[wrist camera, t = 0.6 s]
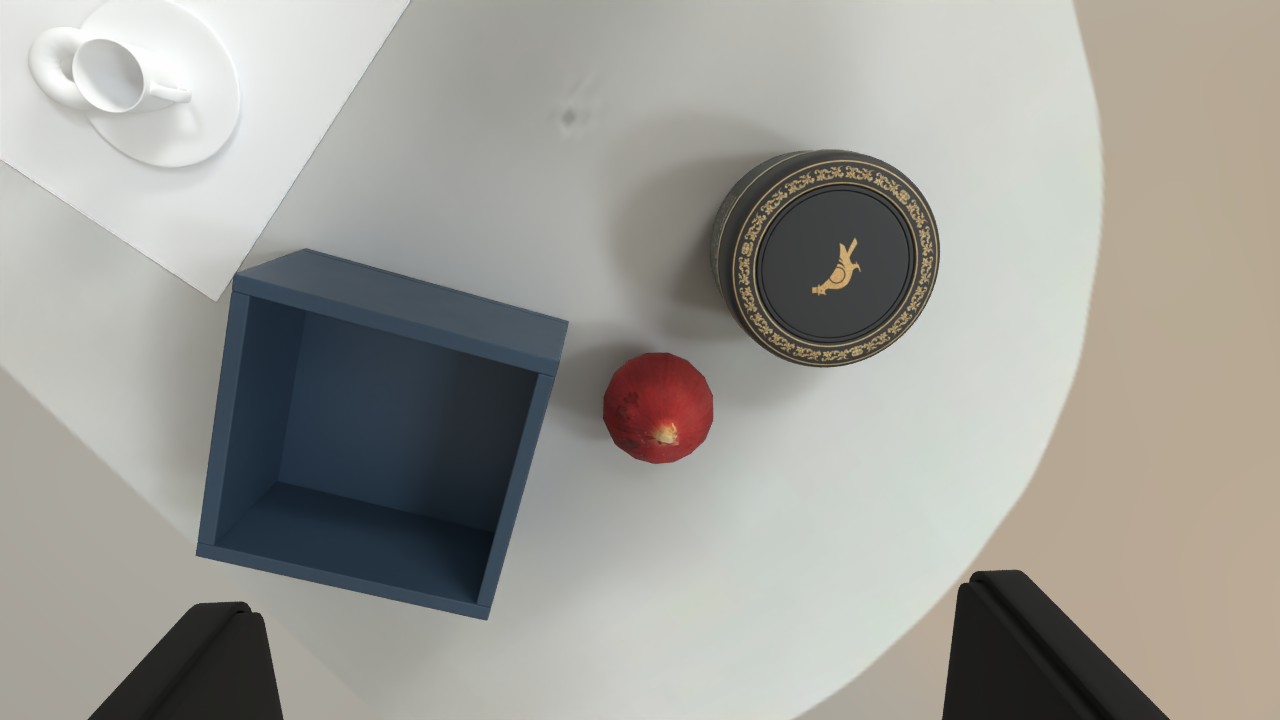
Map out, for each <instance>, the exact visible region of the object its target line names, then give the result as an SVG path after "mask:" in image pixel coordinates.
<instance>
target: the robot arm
mask: <svg viewBox="0 0 1280 720" xmlns="http://www.w3.org/2000/svg"><path fill="white" fill-rule="evenodd" d="M88 720H283V715H282V710H281V705H280V699H279V694H278V689H277V684H276V679H275V674H274V669H273V663H272V658H271V653H270V648H269V643H268V638H267V633H266V628H265V623H264V619H263V617H262V616H261V614H260V613H257V612H254V613H252V611H251V608H250V607H249V606H248V604H247V603H245V602H218V603H200V604H196V605H194V606H193V607H192V608H190V609H189V610H188V611H187V612H186V613H185V615H183V617H182V618H181V619H180V620H179V621H178V622H177V623H176V624H175V625H174V627H172V628H171V630H170V631H169V632H168V633H167V634H166V635H165V636H164V637H163V638H162V639H161V640H160V642H159V643H158V644H157V645H156V646H155V647H154V648H153V649H152V650H151V651H150V652H149V653H148V655H147V656H146V657H145V658H144V659H143V660H142V661H141V662H140V663H139V664H138V666H137V667H136V668H135V669H134V670H133V671H132V672H131V673H130V674H129V675H128V676H127V677H126V679H125V680H124V681H123V682H122V683H121V684H120V685H119V686H118V687H117V688H116V689H115V690H114V691H113V693H112V694H111V695H110V696H109V697H108V698H107V699H106V700H105V701H104V702H103V703H102V704H101V706H100V707H99V708H98V709H97V710H96V711H95V712H94V713H93V714H92V715H91V717H90V718H89V719H88ZM942 720H1170V719H1169V718H1168V717H1167V716H1166V715H1165V714H1164V713H1163V712H1162V711H1161V710H1160V709H1159V708H1158V707H1157V706H1156V705H1155V704H1154V703H1153V702H1152V701H1151V700H1150V699H1149V698H1148V697H1147V696H1146V695H1145V694H1144V693H1143V692H1142V691H1141V690H1140V689H1139V688H1138V687H1137V686H1136V685H1135V684H1134V683H1133V682H1132V681H1131V680H1130V679H1129V678H1128V677H1127V676H1126V675H1125V674H1124V673H1123V672H1122V671H1121V670H1120V669H1119V668H1118V667H1117V666H1116V665H1115V664H1114V663H1113V662H1112V661H1111V660H1110V659H1109V658H1108V657H1107V656H1106V655H1105V654H1104V653H1103V652H1102V651H1101V650H1100V649H1099V648H1098V647H1097V646H1096V645H1095V644H1094V643H1093V642H1092V641H1091V640H1090V639H1089V638H1088V637H1087V636H1086V635H1085V634H1084V633H1083V632H1082V631H1081V629H1079V627H1078V626H1077V625H1076V624H1075V623H1073V621H1072V620H1070V618H1069V617H1068V616H1067V615H1066V614H1064V612H1063V611H1062V610H1061V609H1060V608H1059V607H1058V606H1057V605H1056V604H1055V603H1054V602H1053V601H1052V600H1051V599H1050V598H1049V597H1048V596H1047V595H1046V594H1045V593H1044V592H1043V591H1042V590H1041V589H1040V588H1039V587H1038V586H1037V585H1036V584H1035V583H1034V582H1033V581H1032V580H1031V579H1030V578H1029V577H1028V576H1027V575H1026V574H1024V573H1023V572H1022V571H1019V570H997V571H977V572H975V573H973V574H972V576H971V578H970V581H969V583H963V584H961V585H960V587H959V590H958V595H957V604H956V611H955V619H954V627H953V636H952V644H951V652H950V660H949V669H948V677H947V684H946V693H945V701H944V709H943V717H942Z"/></svg>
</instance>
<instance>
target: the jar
mask: <svg viewBox="0 0 1280 720" xmlns="http://www.w3.org/2000/svg"><path fill="white" fill-rule="evenodd" d="M939 260H940V242H939V234H938V229H937V225H936V221H935V218H934V215H933V213H932V210H931V208H930V206H929V204H928V202H927V201H926V199H925V197H924V196H923V194H922V193H921V192H920V190H919V189H918V188H917V187H916V185H915V184H914V183H913V182H912V181H911V180H910V179H909V178H908V177H906V176H905V175H904V174H903V173H902V172H900V171H899V170H898V169H896V168H895V167H893V166H891V165H889V164H888V163H886V162H883V161H881V160H879V159H876V158H874V157H871V156H867V155H864V154H859V153H856V152H852V151H845V150H816V151H798V152H792V153H787V154H783V155H780V156H777V157H774V158H772V159H770V160H768V161H766V162H764V163H762V164H760V165H758V166H757V167H755V168H754V169H752V170H751V171H750V172H748V173H747V174H746V175H745V176H744V177H743V178H741V179H740V180H739V181H738V182H737V184H736V185H735V186H734V187H733V188H732V189H731V191H730V192H729V193H728V195H727V196H726V198H725V200H724V201H723V203H722V205H721V207H720V209H719V211H718V213H717V216H716V218H715V221H714V225H713V229H712V233H711V240H710V261H711V268H712V273H713V276H714V280H715V282H716V285H717V287H718V290H719V292H720V294H721V295H722V297H723V299H724V300H725V303H726V305H727V307H728V309H729V311H730V313H731V314H732V316H733V318H734V319H735V320H736V322H737V323H738V324H739V326H740V327H741V328H742V329H743V330H744V331H745V332H746V333H747V334H748V335H749V336H750V337H751V338H752V339H753V340H754V341H756V342H757V343H758V344H759V345H760V346H762V347H763V348H764V349H766V350H767V351H769V352H770V353H772V354H774V355H775V356H777V357H780V358H782V359H784V360H787V361H789V362H792V363H796V364H799V365H804V366H810V367H838V366H844V365H849V364H853V363H856V362H859V361H862V360H865V359H867V358H869V357H872V356H874V355H876V354H877V353H879V352H881V351H883V350H884V349H886V348H887V347H889V346H890V345H892V344H893V343H894V342H895V341H897V340H898V339H899V338H900V337H901V336H902V335H903V334H904V333H905V332H906V331H907V330H908V329H909V328H910V327H911V326H912V325H913V324H914V322H915V321H916V320H917V318H918V317H919V316H920V314H921V313H922V311H923V309H924V308H925V306H926V304H927V302H928V300H929V298H930V296H931V293H932V291H933V288H934V285H935V282H936V278H937V274H938V268H939Z"/></svg>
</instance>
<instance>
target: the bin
mask: <svg viewBox="0 0 1280 720" xmlns="http://www.w3.org/2000/svg"><path fill="white" fill-rule="evenodd" d="M568 323H569V322H568V321H565V320H562V319H558V318H554V317H551V316H547V315H544V314H540V313H536V312H533V311H529V310H526V309H522V308H518V307H515V306H511V305H508V304H504V303H500V302H497V301H493V300H490V299H486V298H482V297H479V296H475V295H472V294H468V293H464V292H461V291H457V290H454V289H450V288H446V287H443V286H439V285H436V284H432V283H428V282H425V281H421V280H418V279H414V278H410V277H407V276H403V275H400V274H396V273H392V272H389V271H385V270H382V269H378V268H374V267H371V266H367V265H364V264H360V263H356V262H353V261H349V260H346V259H342V258H338V257H335V256H331V255H328V254H324V253H320V252H317V251H313V250H310V249H303V250H300V251H297V252H294V253H292V254H289V255H286V256H283V257H280V258H277V259H275V260H272V261H269V262H266V263H263V264H261V265H258V266H255V267H252V268H249V269H247V270H244V271H241V272H238V273H235V274H234V278H233V285H232V293H231V301H230V308H229V315H228V323H227V330H226V337H225V345H224V352H223V360H222V367H221V374H220V382H219V389H218V396H217V404H216V411H215V418H214V426H213V433H212V440H211V448H210V455H209V462H208V470H207V477H206V484H205V492H204V499H203V507H202V514H201V521H200V529H199V536H198V543H197V550H196V556H199V557H203V558H208V559H212V560H217V561H221V562H226V563H230V564H235V565H239V566H244V567H248V568H252V569H257V570H261V571H266V572H270V573H275V574H279V575H284V576H288V577H293V578H297V579H302V580H306V581H311V582H315V583H320V584H324V585H329V586H333V587H338V588H342V589H347V590H351V591H356V592H360V593H365V594H369V595H374V596H378V597H383V598H387V599H392V600H396V601H401V602H405V603H410V604H414V605H419V606H423V607H428V608H432V609H437V610H441V611H446V612H450V613H455V614H459V615H464V616H468V617H473V618H477V619H482V620H488V617H489V613H490V610H491V606H492V602H493V599H494V595H495V592H496V588H497V584H498V581H499V577H500V574H501V570H502V566H503V563H504V559H505V556H506V552H507V548H508V545H509V541H510V538H511V534H512V530H513V527H514V523H515V520H516V516H517V513H518V509H519V505H520V502H521V498H522V495H523V491H524V487H525V484H526V480H527V477H528V473H529V469H530V466H531V462H532V459H533V455H534V451H535V448H536V444H537V441H538V437H539V433H540V430H541V426H542V423H543V419H544V415H545V412H546V408H547V405H548V401H549V397H550V394H551V390H552V387H553V383H554V379H555V376H556V372H557V369H558V365H559V361H560V357H561V353H562V349H563V344H564V340H565V336H566V332H567V327H568Z"/></svg>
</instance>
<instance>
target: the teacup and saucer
mask: <svg viewBox="0 0 1280 720" xmlns="http://www.w3.org/2000/svg"><path fill="white" fill-rule="evenodd" d="M67 57H70V72H71V79H72V80H70V79H68V78H67V77H66V75H65V74H64V73H63V69H62V68H61V66H62V61H63V60H64V59H65V58H67ZM27 65H28V70H29V73H30V75H31V77H32V79H33V81H34V83H35V84H36V85H37V87H38V88H39V89H40V90H41V91H42V92H43V93H44V94H45V95H46V96H47V97H48V98H49V99H51V100H52V101H54V102H55V103H57V104H59V105H61V106H63V107H66V108H68V109H72V110H77V111H83V112H84V114H85V116H86V117H87V119H88V121H89V122H90V123H91V125H92V126H93V127H94V129H95V130H96V131H97V132H98V133H99V134H100V135H101V136H102V137H103V138H104V139H105V140H106V141H107V142H108V143H109V144H110V145H111V146H113V147H114V148H115V149H117V150H118V151H119V152H121V153H123V154H124V155H126V156H128V157H129V158H131V159H133V160H136V161H138V162H140V163H143V164H146V165H149V166H153V167H158V168H166V169H179V168H186V167H191V166H195V165H197V164H200V163H202V162H204V161H206V160H208V159H210V158H211V157H213V156H214V155H215V154H217V153H218V152H219V151H220V150H221V149H222V148H223V147H224V146H225V145H226V143H227V142H228V141H229V139H230V138H231V136H232V135H233V133H234V131H235V128H236V126H237V123H238V120H239V116H240V111H241V99H242V97H241V85H240V79H239V75H238V72H237V68H236V66H235V63H234V61H233V58H232V56H231V54H230V52H229V50H228V49H227V47H226V45H225V44H224V42H223V41H222V39H221V38H220V37H219V35H218V34H217V33H216V32H215V31H214V29H213V28H212V27H211V26H210V25H209V24H208V23H207V22H206V21H205V20H203V19H202V18H201V17H200V16H199V15H197V14H196V13H195V12H193V11H192V10H190V9H189V8H187V7H185V6H184V5H182V4H180V3H178V2H175V1H173V0H108V1H106V2H104V3H102V4H101V5H99V6H98V7H97V8H95V9H94V10H93V11H92V12H91V13H90V14H89V15H88V16H87V17H86V18H85V20H84V21H83V22H82V24H81V25H80V27H79V28H75V27H71V26H56V27H51V28H48V29H46V30H44V31H42V32H40V33H39V34H38V35H37V36H36V37H35V38H34V39H33V40H32V42H31V44H30V46H29V49H28V53H27ZM176 69H179V70H182V71H180V72H177V70H176ZM179 75H182V76H184V77H187V78H184V79H181V78H180V76H179ZM182 82H185V83H187V84H189V85H186V86H182ZM173 103H176V104H178V105H181V106H183V107H184V108H178V109H170V110H163V109H166V108H168V107H169V106H171V105H172V104H173Z"/></svg>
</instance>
